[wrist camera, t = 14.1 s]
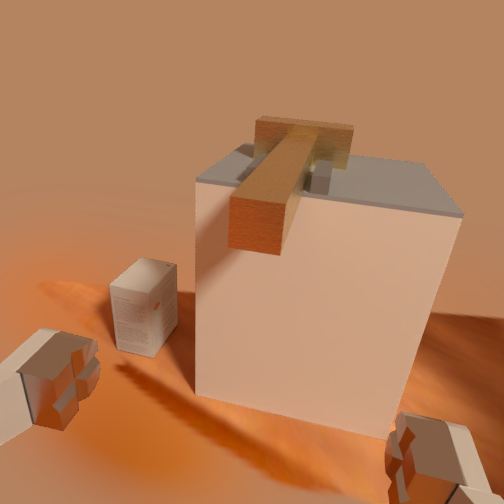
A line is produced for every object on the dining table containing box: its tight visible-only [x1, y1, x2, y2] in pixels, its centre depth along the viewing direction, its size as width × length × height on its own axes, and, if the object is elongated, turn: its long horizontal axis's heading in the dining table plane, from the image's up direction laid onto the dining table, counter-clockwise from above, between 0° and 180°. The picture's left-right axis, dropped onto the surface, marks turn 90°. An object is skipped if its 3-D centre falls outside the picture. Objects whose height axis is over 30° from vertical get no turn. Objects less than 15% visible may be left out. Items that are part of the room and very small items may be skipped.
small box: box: [109, 257, 178, 358], centre depth 51 cm, size 8×6×10 cm
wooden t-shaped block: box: [228, 116, 353, 256], centre depth 31 cm, size 10×26×4 cm, turn 167°
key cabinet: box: [195, 143, 464, 440], centre depth 45 cm, size 22×18×28 cm
